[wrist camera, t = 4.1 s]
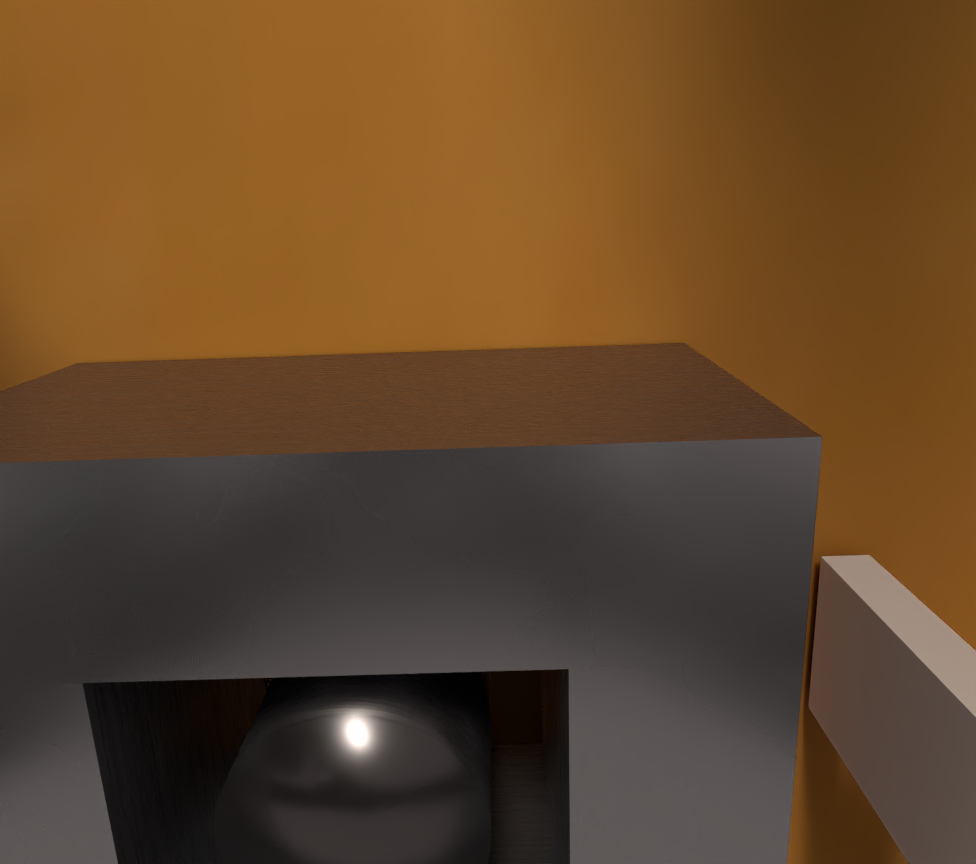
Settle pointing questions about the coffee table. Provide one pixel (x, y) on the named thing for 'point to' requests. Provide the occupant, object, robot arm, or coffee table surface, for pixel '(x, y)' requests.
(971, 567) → the coffee table surface
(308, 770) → the ball
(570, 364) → the grey hollow block
